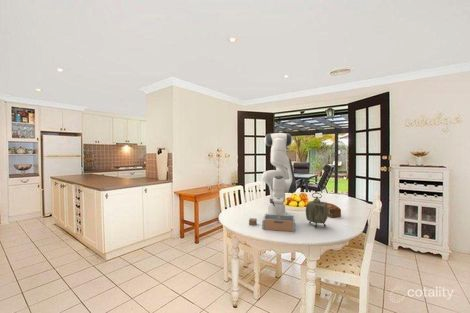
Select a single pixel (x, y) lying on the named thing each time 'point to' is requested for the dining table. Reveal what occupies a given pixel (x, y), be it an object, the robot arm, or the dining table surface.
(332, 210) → the bread
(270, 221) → the panel
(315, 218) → the tabletop clock
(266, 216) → the blue-grey open tray
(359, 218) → the dining table surface
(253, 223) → the walnut block
